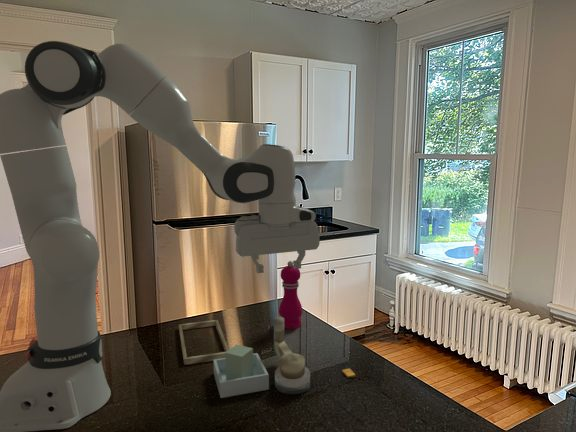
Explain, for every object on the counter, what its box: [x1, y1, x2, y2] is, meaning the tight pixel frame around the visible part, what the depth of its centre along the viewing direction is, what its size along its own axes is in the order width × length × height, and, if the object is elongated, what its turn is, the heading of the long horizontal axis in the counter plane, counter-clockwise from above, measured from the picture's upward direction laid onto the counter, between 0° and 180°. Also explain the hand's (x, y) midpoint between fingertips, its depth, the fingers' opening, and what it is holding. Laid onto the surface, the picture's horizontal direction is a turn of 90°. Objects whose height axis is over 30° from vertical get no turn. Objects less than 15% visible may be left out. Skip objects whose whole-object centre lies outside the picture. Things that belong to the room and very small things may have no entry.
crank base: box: [274, 366, 356, 395], centre depth 96 cm, size 19×8×3 cm, turn 108°
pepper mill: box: [278, 260, 304, 330], centre depth 126 cm, size 7×7×20 cm
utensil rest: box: [178, 319, 230, 366], centre depth 116 cm, size 12×23×2 cm, turn 18°
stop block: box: [224, 344, 254, 380], centre depth 95 cm, size 4×4×7 cm
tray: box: [212, 352, 270, 399], centre depth 96 cm, size 11×11×4 cm
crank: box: [273, 316, 306, 378], centre depth 98 cm, size 15×6×8 cm, turn 18°
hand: (278, 270), depth 101 cm, fingers open, 8 cm apart
